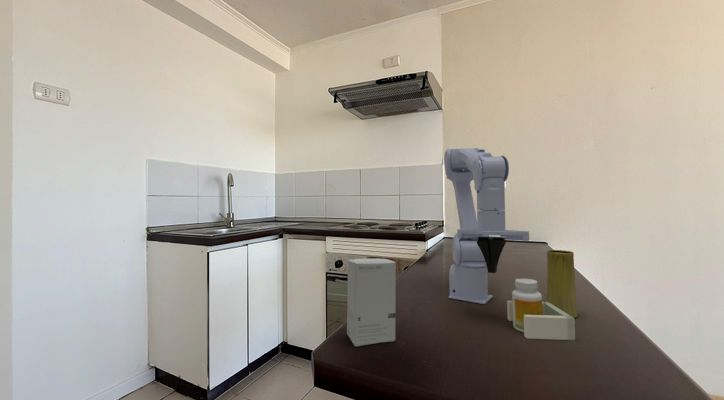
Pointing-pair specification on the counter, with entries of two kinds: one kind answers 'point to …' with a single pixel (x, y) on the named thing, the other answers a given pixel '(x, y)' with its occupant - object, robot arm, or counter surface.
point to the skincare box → (371, 301)
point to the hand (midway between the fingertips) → (492, 272)
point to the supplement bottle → (525, 301)
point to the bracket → (547, 323)
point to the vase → (561, 281)
